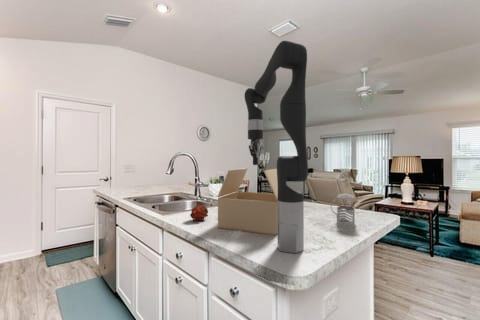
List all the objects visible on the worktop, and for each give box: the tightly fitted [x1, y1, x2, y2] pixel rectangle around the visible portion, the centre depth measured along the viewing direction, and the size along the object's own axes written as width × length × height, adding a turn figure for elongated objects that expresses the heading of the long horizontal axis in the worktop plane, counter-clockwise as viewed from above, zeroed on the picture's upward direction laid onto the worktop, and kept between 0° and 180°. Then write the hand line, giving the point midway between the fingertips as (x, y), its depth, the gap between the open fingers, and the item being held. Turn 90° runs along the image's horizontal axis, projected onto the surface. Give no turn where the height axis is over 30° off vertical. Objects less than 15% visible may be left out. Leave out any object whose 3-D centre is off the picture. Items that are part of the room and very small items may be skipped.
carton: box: [217, 191, 278, 236], centre depth 117 cm, size 24×28×14 cm
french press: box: [330, 173, 358, 229], centre depth 116 cm, size 10×12×25 cm
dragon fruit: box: [189, 204, 209, 222], centre depth 126 cm, size 8×8×12 cm
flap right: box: [263, 168, 278, 201], centre depth 113 cm, size 23×14×1 cm
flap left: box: [217, 167, 249, 198], centre depth 122 cm, size 23×14×1 cm
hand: (255, 164), depth 118 cm, fingers closed
